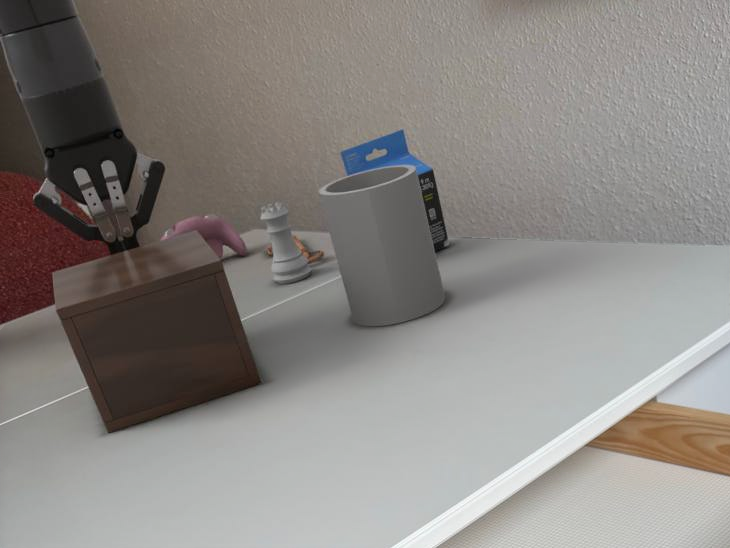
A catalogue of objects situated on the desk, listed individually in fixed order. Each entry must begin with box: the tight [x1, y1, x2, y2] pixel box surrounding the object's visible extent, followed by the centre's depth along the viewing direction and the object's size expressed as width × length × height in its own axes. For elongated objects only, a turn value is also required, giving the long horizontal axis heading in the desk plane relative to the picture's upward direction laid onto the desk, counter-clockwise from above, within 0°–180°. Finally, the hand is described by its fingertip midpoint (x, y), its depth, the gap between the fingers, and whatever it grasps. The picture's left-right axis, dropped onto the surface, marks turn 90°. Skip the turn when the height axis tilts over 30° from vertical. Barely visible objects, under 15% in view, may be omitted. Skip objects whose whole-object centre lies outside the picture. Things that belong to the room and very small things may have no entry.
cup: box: [318, 165, 446, 327], centre depth 103 cm, size 9×9×12 cm
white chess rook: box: [259, 201, 312, 285], centre depth 123 cm, size 4×4×8 cm
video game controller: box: [160, 213, 248, 260], centre depth 138 cm, size 10×5×7 cm, turn 130°
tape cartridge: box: [340, 129, 450, 252], centre depth 118 cm, size 9×4×12 cm, turn 132°
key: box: [265, 234, 325, 266], centre depth 133 cm, size 6×1×15 cm
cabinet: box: [51, 230, 263, 434], centre depth 98 cm, size 16×14×11 cm
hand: (134, 276), depth 107 cm, fingers closed
